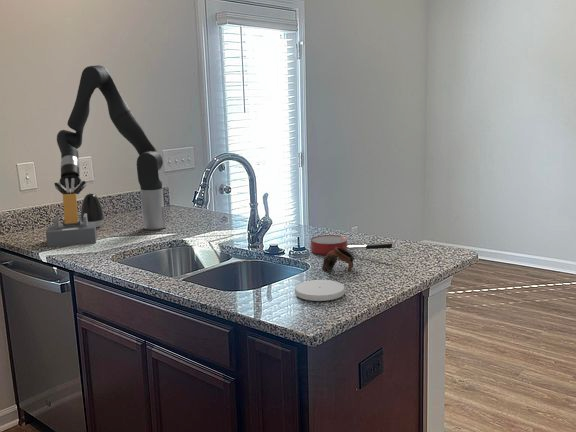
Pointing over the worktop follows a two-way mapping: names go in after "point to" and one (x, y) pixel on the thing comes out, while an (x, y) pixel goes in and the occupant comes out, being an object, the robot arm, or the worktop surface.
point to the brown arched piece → (332, 259)
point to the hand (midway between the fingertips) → (70, 201)
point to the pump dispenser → (92, 210)
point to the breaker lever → (70, 210)
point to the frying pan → (338, 244)
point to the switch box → (71, 233)
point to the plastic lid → (319, 290)
